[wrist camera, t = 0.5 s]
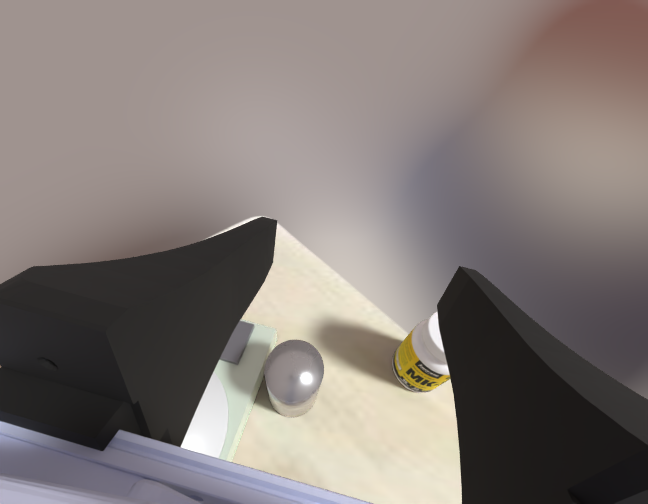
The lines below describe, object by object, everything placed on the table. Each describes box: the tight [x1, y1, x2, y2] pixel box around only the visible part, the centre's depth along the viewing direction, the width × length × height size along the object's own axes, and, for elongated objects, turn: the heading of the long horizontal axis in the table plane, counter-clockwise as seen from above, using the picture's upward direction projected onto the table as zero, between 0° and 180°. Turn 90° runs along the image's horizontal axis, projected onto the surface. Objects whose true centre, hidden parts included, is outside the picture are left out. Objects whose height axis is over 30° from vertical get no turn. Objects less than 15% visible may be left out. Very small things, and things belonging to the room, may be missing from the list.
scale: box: [181, 319, 277, 462], centre depth 22 cm, size 16×12×3 cm
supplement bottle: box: [392, 312, 450, 393], centre depth 24 cm, size 5×5×8 cm
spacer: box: [264, 340, 324, 417], centre depth 23 cm, size 4×4×6 cm
